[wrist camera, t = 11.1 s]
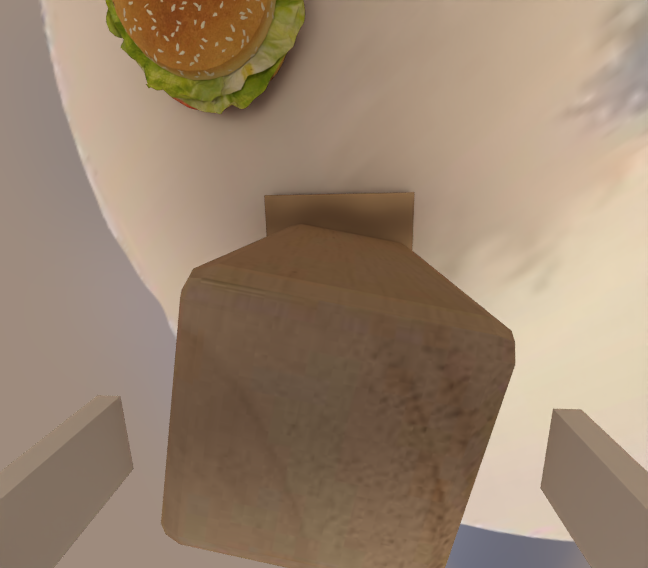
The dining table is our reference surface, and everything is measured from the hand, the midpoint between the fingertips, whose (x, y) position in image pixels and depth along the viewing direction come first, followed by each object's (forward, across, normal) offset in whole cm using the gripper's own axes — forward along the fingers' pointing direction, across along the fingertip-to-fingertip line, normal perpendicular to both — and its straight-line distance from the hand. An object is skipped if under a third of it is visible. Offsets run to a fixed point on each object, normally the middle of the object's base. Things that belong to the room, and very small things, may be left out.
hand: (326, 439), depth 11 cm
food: (+23, -9, +20) cm, 32 cm away
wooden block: (+20, 0, 0) cm, 20 cm away
